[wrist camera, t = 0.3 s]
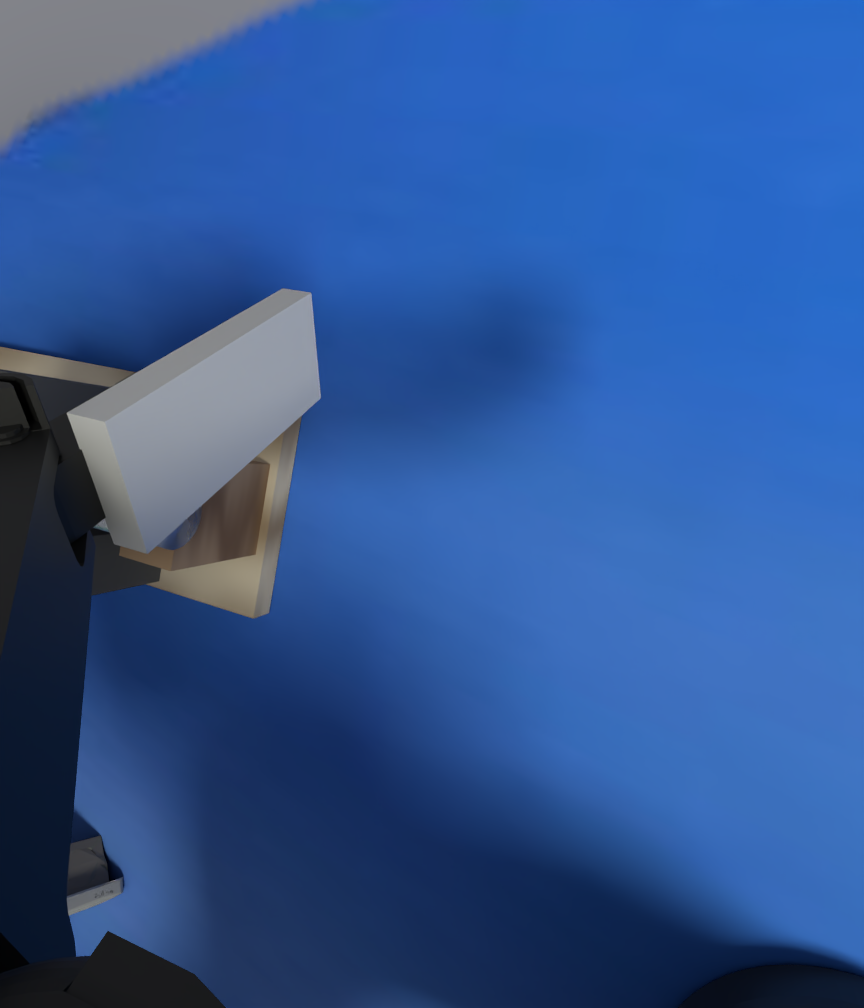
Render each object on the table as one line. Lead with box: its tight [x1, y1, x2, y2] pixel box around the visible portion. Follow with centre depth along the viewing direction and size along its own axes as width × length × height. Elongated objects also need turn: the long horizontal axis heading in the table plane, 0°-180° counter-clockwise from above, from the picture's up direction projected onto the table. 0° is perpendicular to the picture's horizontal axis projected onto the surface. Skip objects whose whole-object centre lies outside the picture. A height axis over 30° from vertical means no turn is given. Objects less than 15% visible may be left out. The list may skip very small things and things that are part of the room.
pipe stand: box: [0, 347, 302, 619], centre depth 36 cm, size 12×25×8 cm, turn 79°
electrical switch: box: [67, 836, 123, 915], centre depth 39 cm, size 9×5×9 cm, turn 118°
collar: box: [0, 369, 161, 596], centre depth 31 cm, size 10×2×10 cm, turn 169°
